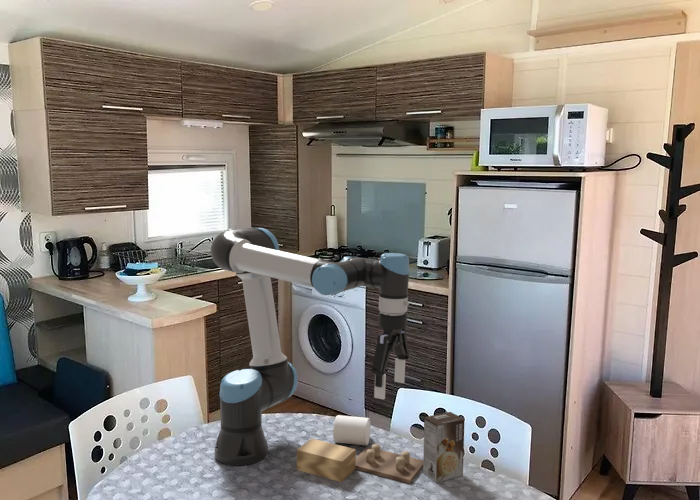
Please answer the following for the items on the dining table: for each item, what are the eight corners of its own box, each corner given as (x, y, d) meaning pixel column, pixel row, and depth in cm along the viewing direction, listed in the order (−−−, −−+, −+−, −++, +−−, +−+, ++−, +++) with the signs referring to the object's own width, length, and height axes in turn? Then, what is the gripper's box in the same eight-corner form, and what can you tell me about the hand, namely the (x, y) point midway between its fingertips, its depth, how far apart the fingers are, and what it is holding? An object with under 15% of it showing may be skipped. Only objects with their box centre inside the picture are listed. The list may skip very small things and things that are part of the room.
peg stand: (349, 467, 162) (349, 453, 161) (368, 449, 172) (368, 437, 172) (409, 483, 154) (410, 469, 153) (425, 464, 164) (426, 450, 164)
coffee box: (449, 465, 164) (451, 410, 162) (463, 476, 158) (465, 419, 156) (421, 472, 160) (423, 416, 158) (435, 483, 154) (437, 425, 152)
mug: (365, 450, 172) (366, 424, 171) (332, 446, 174) (333, 421, 173) (372, 433, 184) (372, 408, 183) (341, 430, 186) (341, 406, 185)
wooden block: (296, 470, 160) (296, 449, 160) (311, 458, 167) (311, 438, 167) (341, 483, 154) (342, 461, 153) (355, 470, 161) (355, 449, 160)
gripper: (387, 324, 141) (384, 408, 144) (422, 305, 163) (419, 378, 166) (359, 320, 144) (356, 402, 147) (397, 301, 166) (394, 373, 169)
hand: (389, 389), depth 156 cm, fingers open, 13 cm apart
